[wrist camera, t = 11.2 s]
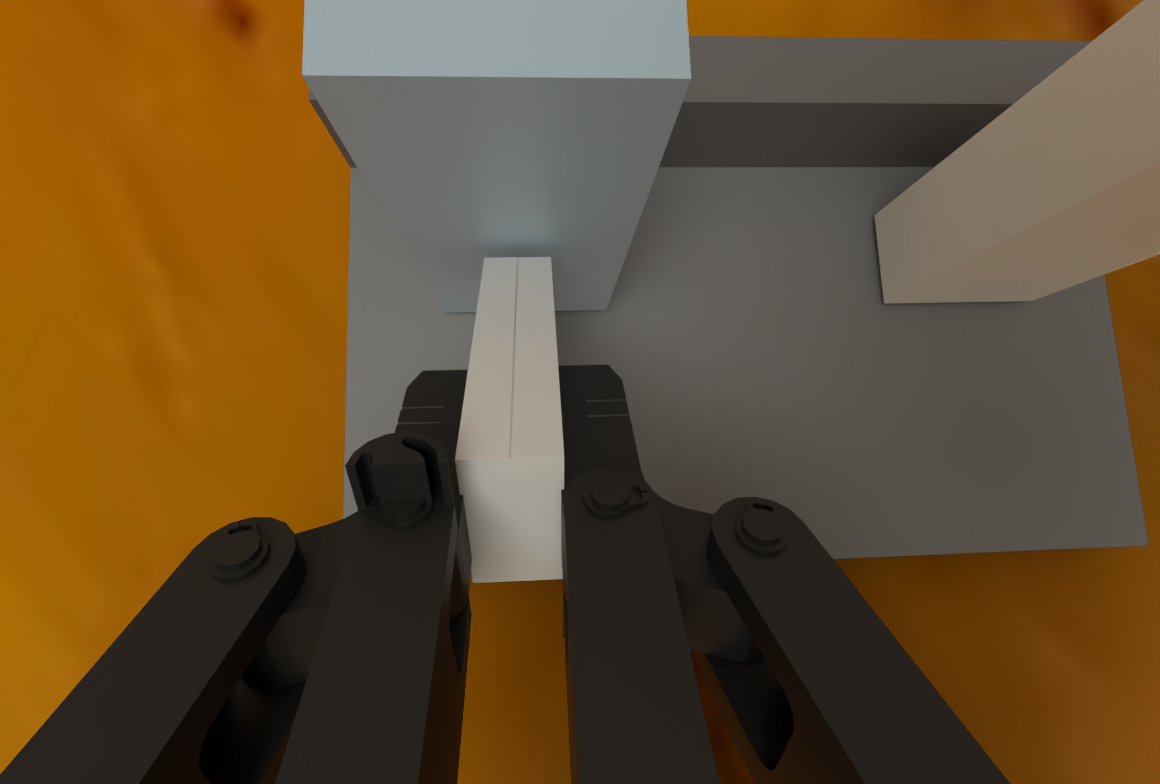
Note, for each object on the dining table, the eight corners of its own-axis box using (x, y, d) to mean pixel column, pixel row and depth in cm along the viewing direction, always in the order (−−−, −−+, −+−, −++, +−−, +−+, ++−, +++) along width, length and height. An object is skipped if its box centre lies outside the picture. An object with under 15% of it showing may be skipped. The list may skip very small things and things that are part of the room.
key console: (1038, 108, 23) (1175, 6, 18) (1104, 540, 21) (1282, 560, 16) (366, 104, 21) (312, -10, 16) (357, 572, 19) (292, 605, 14)
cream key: (1018, 214, 20) (1576, -97, 9) (1031, 300, 20) (1631, 81, 9) (874, 215, 20) (1275, -106, 9) (883, 303, 19) (1317, 79, 9)
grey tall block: (602, 218, 19) (678, -119, 8) (606, 310, 19) (690, 79, 8) (444, 220, 19) (309, -130, 8) (444, 312, 18) (302, 75, 8)
